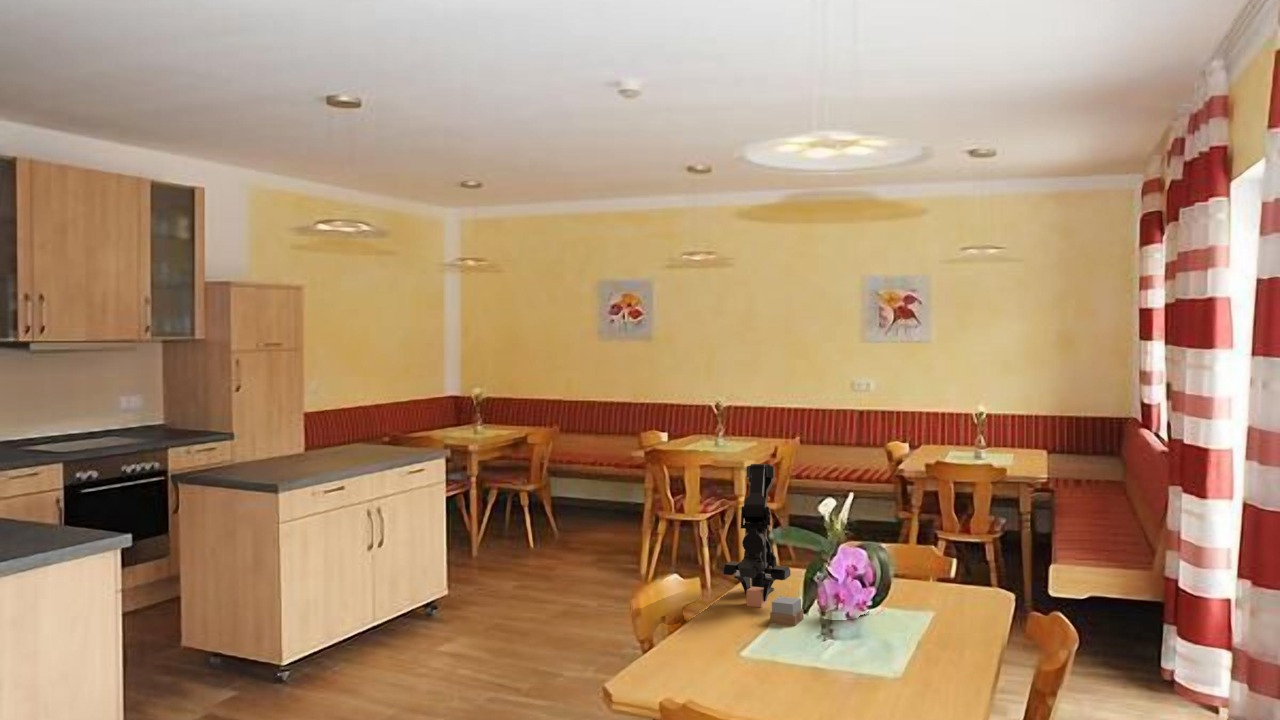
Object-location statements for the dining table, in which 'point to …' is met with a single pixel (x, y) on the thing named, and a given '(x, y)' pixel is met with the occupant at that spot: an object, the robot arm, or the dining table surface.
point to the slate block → (786, 605)
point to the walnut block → (787, 618)
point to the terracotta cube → (755, 597)
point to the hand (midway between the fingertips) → (756, 600)
